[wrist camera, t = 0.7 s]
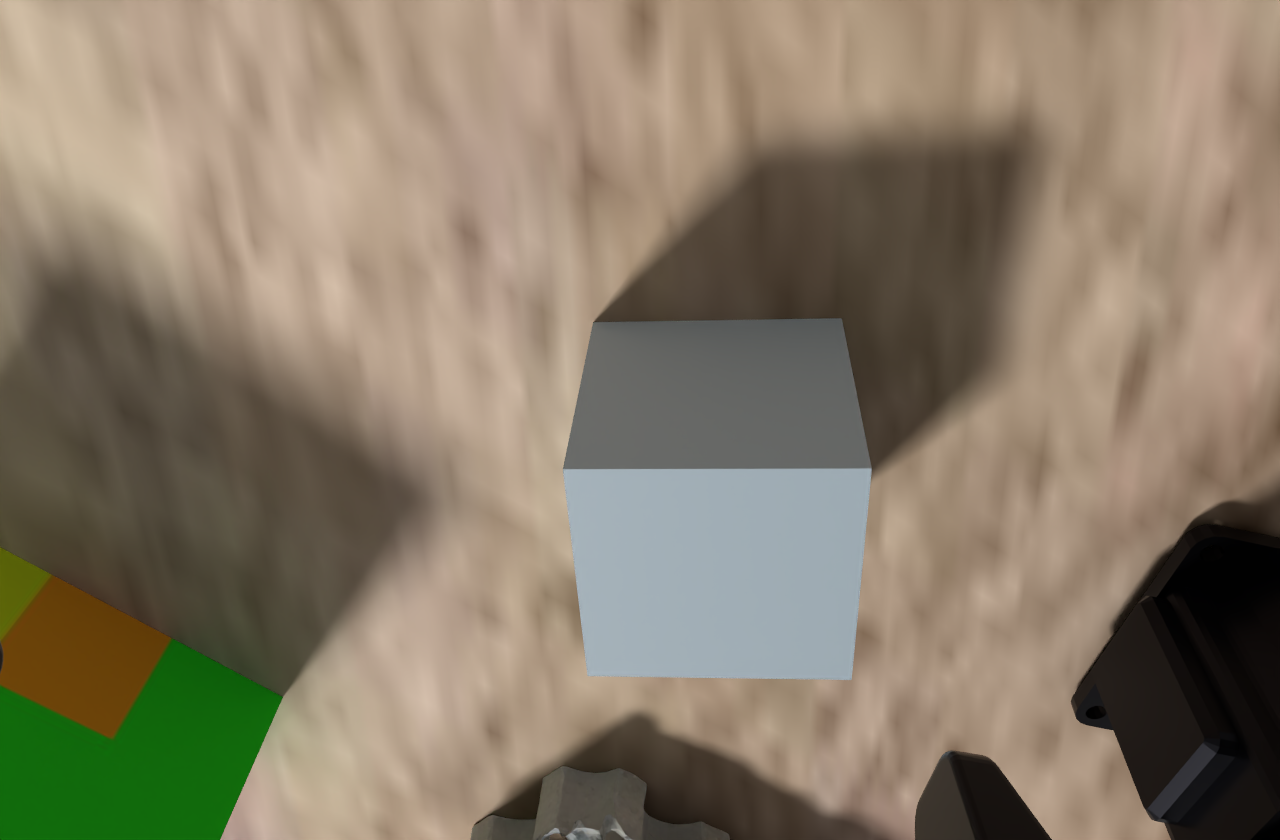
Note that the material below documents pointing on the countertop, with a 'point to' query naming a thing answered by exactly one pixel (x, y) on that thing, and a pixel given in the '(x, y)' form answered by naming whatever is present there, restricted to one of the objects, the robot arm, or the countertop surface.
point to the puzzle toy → (114, 721)
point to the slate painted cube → (718, 499)
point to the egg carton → (592, 812)
